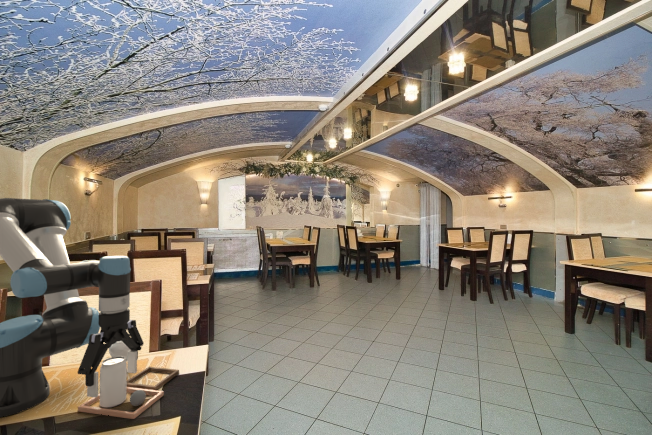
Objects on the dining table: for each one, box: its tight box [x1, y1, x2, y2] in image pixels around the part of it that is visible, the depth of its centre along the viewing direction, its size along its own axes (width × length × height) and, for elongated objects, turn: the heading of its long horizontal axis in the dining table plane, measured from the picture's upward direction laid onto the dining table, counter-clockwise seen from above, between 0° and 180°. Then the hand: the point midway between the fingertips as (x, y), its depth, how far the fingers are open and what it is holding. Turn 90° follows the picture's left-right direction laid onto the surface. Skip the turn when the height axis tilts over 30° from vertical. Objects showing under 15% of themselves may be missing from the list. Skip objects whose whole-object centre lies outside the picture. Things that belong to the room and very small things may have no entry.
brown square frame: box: [127, 366, 180, 391], centre depth 105 cm, size 12×12×1 cm
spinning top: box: [108, 341, 131, 363], centre depth 113 cm, size 8×8×12 cm
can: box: [99, 356, 128, 409], centre depth 92 cm, size 6×6×12 cm
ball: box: [129, 390, 147, 407], centre depth 91 cm, size 4×4×4 cm
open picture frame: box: [77, 387, 165, 420], centre depth 92 cm, size 18×12×1 cm, turn 80°
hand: (113, 383), depth 92 cm, fingers open, 13 cm apart
